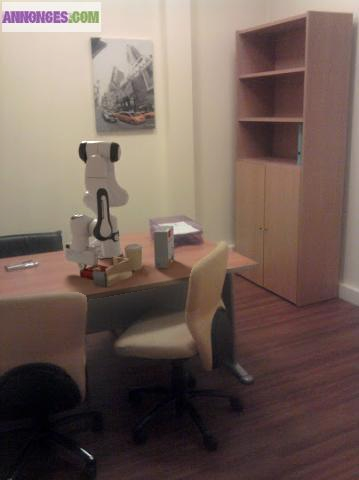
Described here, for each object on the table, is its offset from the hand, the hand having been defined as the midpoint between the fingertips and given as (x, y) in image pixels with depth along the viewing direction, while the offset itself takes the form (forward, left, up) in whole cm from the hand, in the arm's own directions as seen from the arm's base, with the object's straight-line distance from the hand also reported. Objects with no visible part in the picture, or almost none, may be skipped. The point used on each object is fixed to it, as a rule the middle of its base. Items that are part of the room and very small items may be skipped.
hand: (82, 271), depth 241 cm
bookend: (+20, -9, -2) cm, 22 cm away
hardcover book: (+12, +2, -2) cm, 13 cm away
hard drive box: (+29, +33, -2) cm, 44 cm away
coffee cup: (+18, +20, -2) cm, 27 cm away
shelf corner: (+19, +1, -2) cm, 20 cm away
